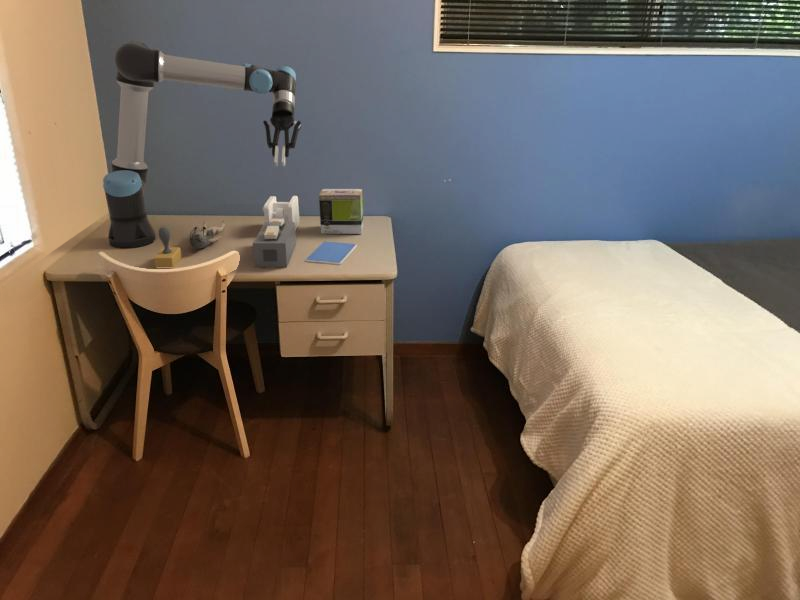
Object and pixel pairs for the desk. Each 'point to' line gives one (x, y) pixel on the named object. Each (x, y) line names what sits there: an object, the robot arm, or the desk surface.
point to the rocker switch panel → (275, 246)
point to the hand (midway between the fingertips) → (279, 164)
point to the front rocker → (271, 232)
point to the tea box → (341, 211)
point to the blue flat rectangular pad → (331, 253)
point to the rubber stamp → (167, 251)
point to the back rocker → (276, 222)
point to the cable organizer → (282, 210)
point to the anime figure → (204, 235)
